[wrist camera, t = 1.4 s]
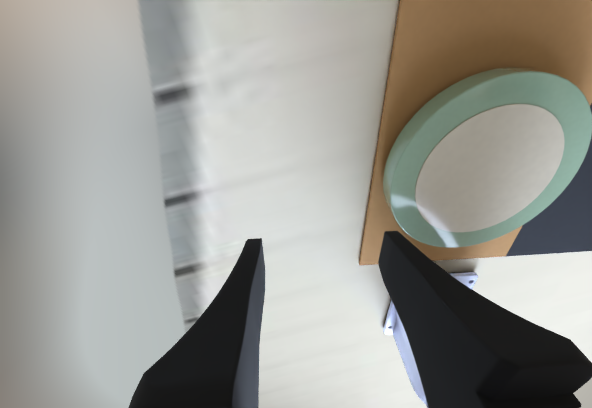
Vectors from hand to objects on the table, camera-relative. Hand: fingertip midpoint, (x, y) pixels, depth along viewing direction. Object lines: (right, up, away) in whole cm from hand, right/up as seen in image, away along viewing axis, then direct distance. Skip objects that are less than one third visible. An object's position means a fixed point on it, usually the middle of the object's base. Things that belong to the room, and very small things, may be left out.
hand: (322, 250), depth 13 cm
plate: (+11, +5, +7) cm, 14 cm away
